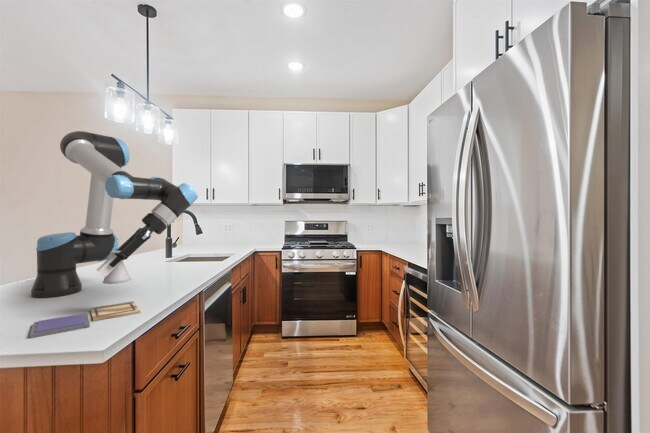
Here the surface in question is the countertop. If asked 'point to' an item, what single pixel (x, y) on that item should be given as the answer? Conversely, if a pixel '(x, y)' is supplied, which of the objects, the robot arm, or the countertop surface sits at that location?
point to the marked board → (114, 311)
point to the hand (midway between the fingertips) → (100, 273)
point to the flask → (117, 273)
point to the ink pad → (59, 325)
